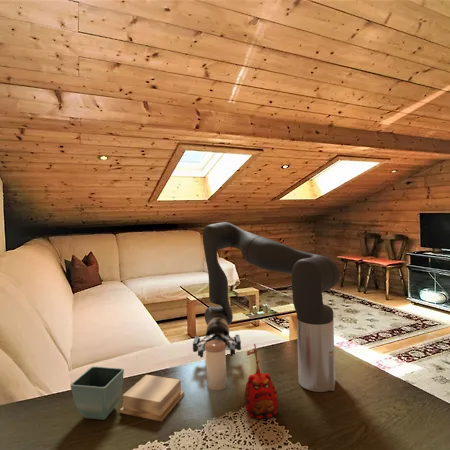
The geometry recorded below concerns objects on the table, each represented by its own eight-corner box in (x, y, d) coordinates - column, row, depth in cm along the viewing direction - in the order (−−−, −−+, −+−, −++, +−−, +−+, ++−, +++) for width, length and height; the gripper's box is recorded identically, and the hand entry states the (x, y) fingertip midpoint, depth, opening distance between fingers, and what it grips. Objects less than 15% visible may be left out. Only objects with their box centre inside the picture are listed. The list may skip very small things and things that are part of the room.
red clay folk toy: (249, 424, 73) (246, 356, 72) (241, 405, 80) (239, 343, 79) (282, 418, 75) (280, 352, 74) (271, 400, 82) (269, 340, 81)
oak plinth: (184, 394, 86) (183, 379, 86) (161, 421, 75) (160, 404, 75) (146, 387, 90) (145, 373, 89) (119, 412, 79) (118, 396, 79)
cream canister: (229, 381, 91) (228, 341, 91) (222, 392, 86) (221, 349, 86) (211, 378, 93) (209, 339, 92) (203, 388, 88) (201, 347, 87)
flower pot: (107, 427, 74) (104, 387, 74) (71, 423, 76) (69, 384, 75) (126, 403, 83) (124, 368, 82) (94, 401, 84) (92, 366, 84)
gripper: (195, 321, 111) (190, 341, 95) (238, 320, 111) (241, 339, 95) (196, 344, 111) (191, 367, 95) (239, 342, 111) (242, 365, 95)
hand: (216, 353), depth 95 cm, fingers open, 8 cm apart
